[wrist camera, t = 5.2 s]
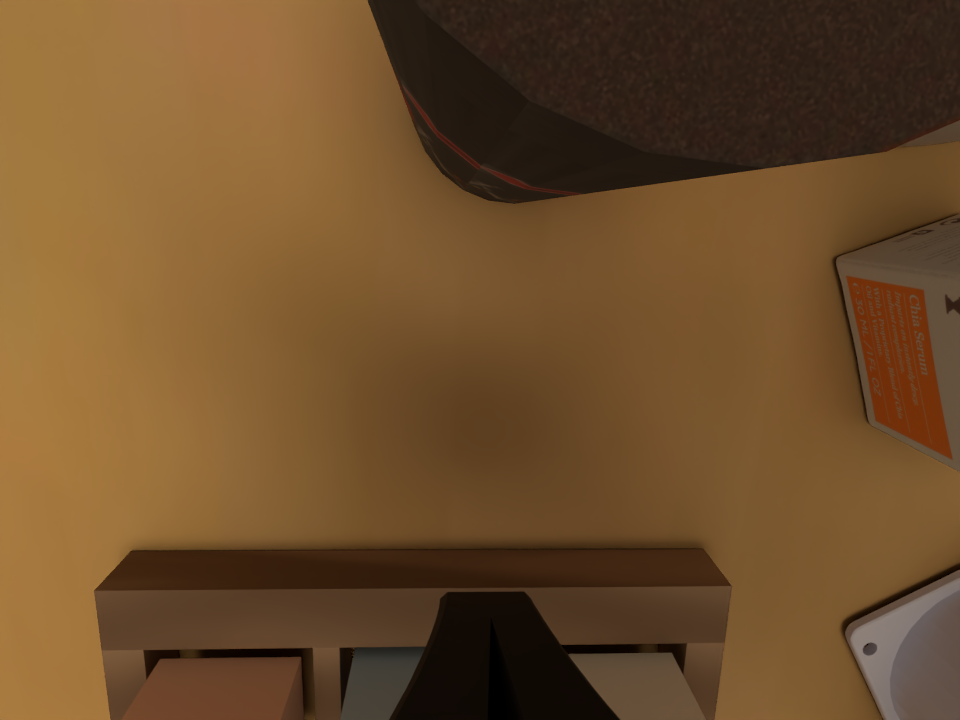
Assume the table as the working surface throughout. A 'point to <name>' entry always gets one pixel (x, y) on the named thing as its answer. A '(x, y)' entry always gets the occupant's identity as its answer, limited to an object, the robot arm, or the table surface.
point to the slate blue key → (378, 681)
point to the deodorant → (664, 86)
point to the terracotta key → (221, 690)
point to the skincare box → (909, 335)
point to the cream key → (640, 685)
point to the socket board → (400, 606)
